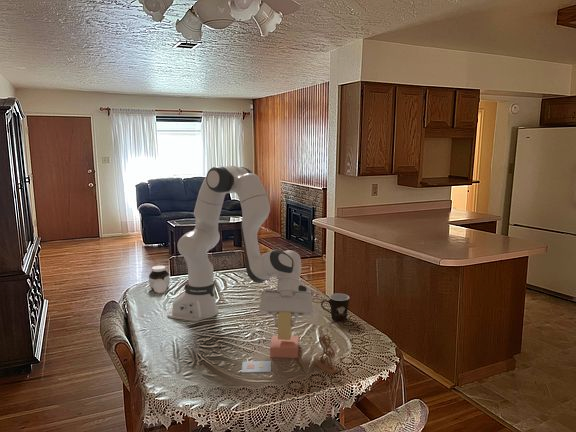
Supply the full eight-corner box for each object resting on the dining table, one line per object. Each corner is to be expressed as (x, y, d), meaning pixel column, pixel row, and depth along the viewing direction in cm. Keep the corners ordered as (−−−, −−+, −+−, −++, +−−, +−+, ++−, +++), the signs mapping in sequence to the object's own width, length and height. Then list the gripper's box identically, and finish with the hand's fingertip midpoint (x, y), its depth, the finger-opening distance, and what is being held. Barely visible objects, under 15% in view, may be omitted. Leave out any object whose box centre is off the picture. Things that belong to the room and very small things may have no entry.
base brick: (270, 357, 156) (270, 347, 156) (272, 344, 166) (272, 335, 165) (297, 358, 156) (297, 348, 155) (298, 345, 166) (298, 335, 165)
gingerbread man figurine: (339, 371, 146) (339, 338, 144) (330, 374, 144) (330, 341, 142) (323, 360, 154) (323, 328, 152) (314, 363, 152) (314, 331, 150)
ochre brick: (277, 339, 158) (277, 316, 156) (279, 333, 162) (279, 311, 161) (290, 339, 157) (289, 316, 156) (291, 334, 162) (291, 311, 160)
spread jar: (162, 284, 234) (161, 263, 232) (176, 288, 228) (175, 267, 226) (144, 290, 225) (142, 269, 223) (157, 295, 218) (156, 273, 216)
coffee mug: (350, 316, 192) (351, 294, 190) (346, 323, 184) (347, 301, 182) (325, 312, 196) (325, 291, 194) (320, 320, 188) (320, 298, 186)
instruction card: (241, 372, 146) (241, 371, 146) (242, 362, 153) (242, 361, 153) (270, 372, 146) (270, 371, 146) (270, 361, 153) (270, 360, 153)
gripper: (260, 285, 165) (255, 320, 157) (313, 288, 162) (311, 323, 155) (262, 292, 170) (258, 326, 162) (314, 295, 167) (312, 329, 160)
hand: (284, 325), depth 158 cm, fingers closed on ochre brick, 4 cm apart
